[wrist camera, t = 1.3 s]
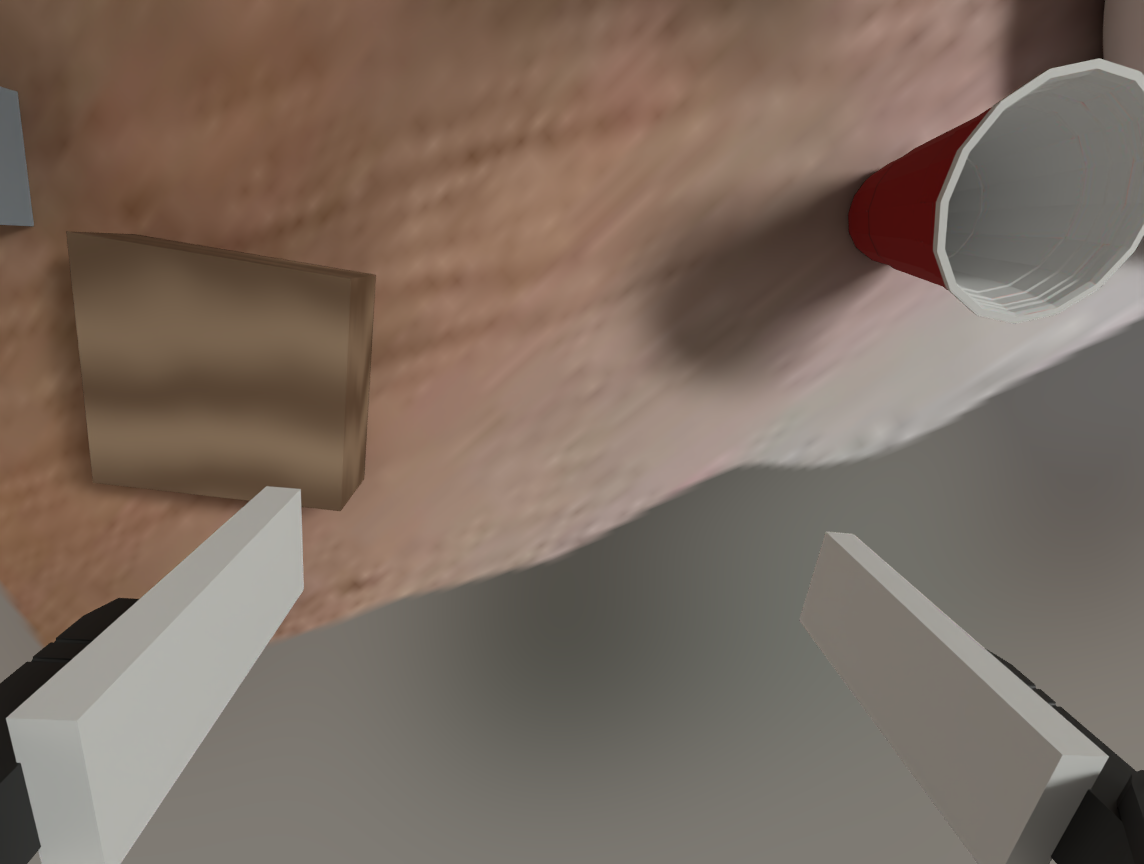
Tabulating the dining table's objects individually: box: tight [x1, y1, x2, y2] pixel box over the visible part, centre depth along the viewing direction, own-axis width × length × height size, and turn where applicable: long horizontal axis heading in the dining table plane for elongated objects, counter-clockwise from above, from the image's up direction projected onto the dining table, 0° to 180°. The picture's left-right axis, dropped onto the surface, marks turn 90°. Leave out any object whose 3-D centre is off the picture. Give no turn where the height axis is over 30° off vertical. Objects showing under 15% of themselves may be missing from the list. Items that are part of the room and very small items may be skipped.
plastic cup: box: [848, 58, 1144, 324], centre depth 29 cm, size 11×11×12 cm
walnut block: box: [66, 232, 376, 511], centre depth 33 cm, size 14×14×5 cm
